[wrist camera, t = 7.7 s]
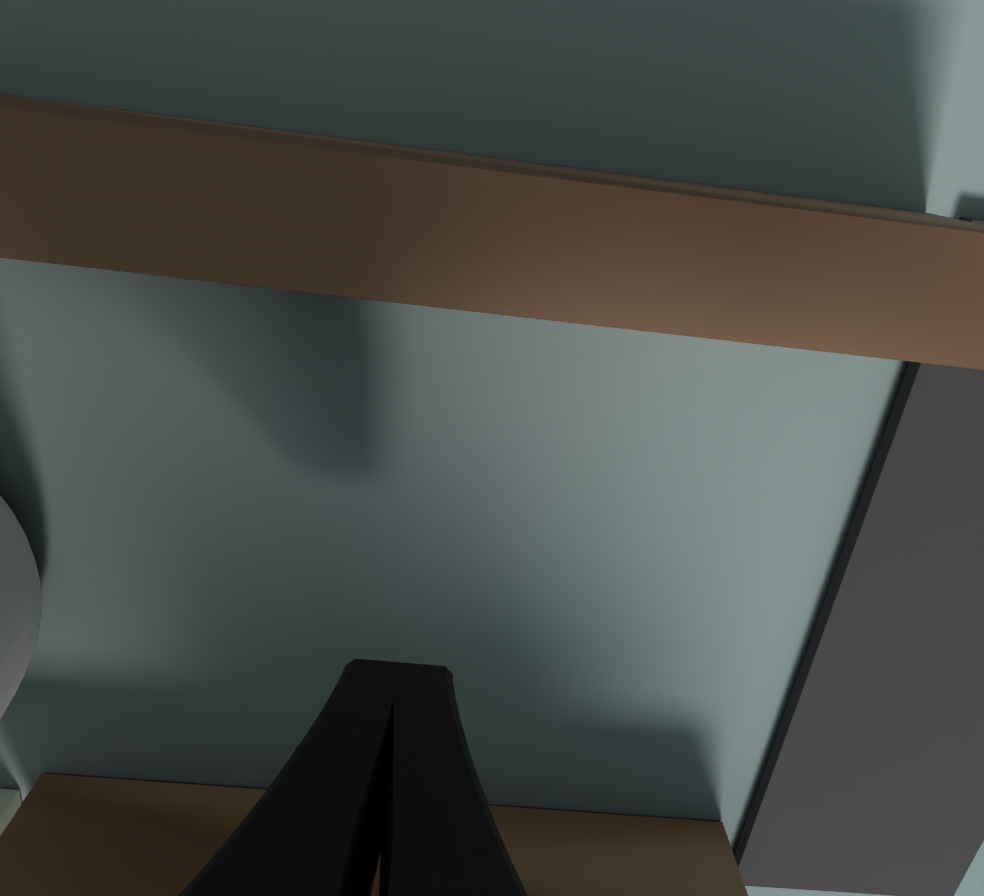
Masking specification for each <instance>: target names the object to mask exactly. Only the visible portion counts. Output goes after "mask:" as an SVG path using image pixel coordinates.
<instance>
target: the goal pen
mask: <svg viewBox="0 0 984 896" xmlns="http://www.w3.org/2000/svg"><path fill="white" fill-rule="evenodd" d="M21 804H22V803H21V798H20V792H19V790H13V789H0V836H1V834H2V833H3V831H4V830H5V828H6V827H7V825H8V824H9V822H10V821H11V819H12V818H13V816H14V815H15V813H16V812H17V810H18V809H19V807H20V806H21Z"/></svg>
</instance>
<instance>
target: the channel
mask: <svg viewBox="0 0 984 896" xmlns="http://www.w3.org/2000/svg"><path fill="white" fill-rule="evenodd" d="M0 257H1V258H10V259H19V260H28V261H36V262H45V263H54V264H63V265H71V266H80V267H89V268H98V269H106V270H115V271H124V272H133V273H141V274H150V275H159V276H168V277H176V278H185V279H194V280H203V281H211V282H220V283H229V284H237V285H246V286H255V287H264V288H272V289H281V290H290V291H299V292H307V293H316V294H325V295H334V296H342V297H351V298H360V299H369V300H377V301H386V302H395V303H404V304H412V305H421V306H430V307H439V308H447V309H456V310H465V311H474V312H482V313H491V314H500V315H509V316H517V317H526V318H535V319H544V320H552V321H561V322H570V323H579V324H587V325H596V326H605V327H614V328H622V329H631V330H640V331H649V332H657V333H666V334H675V335H684V336H692V337H701V338H710V339H719V340H727V341H736V342H745V343H754V344H762V345H771V346H780V347H789V348H797V349H806V350H815V351H824V352H832V353H841V354H850V355H859V356H867V357H876V358H885V359H894V360H902V361H911V362H920V363H929V364H937V365H946V366H955V367H964V368H972V369H981V370H984V225H982V224H977V223H972V222H967V221H963V220H958V219H953V218H948V217H944V216H939V215H934V214H930V213H923V212H915V211H907V210H899V209H892V208H884V207H876V206H868V205H860V204H853V203H845V202H837V201H829V200H821V199H813V198H806V197H798V196H790V195H782V194H774V193H767V192H759V191H751V190H743V189H735V188H728V187H720V186H712V185H704V184H696V183H688V182H681V181H673V180H665V179H657V178H649V177H642V176H634V175H626V174H618V173H610V172H603V171H595V170H587V169H579V168H571V167H563V166H556V165H548V164H540V163H532V162H524V161H517V160H509V159H501V158H493V157H485V156H477V155H470V154H462V153H454V152H446V151H438V150H431V149H423V148H415V147H407V146H399V145H392V144H384V143H376V142H368V141H360V140H352V139H345V138H337V137H329V136H321V135H313V134H306V133H298V132H290V131H282V130H274V129H267V128H259V127H251V126H243V125H235V124H227V123H220V122H212V121H204V120H196V119H188V118H181V117H173V116H165V115H157V114H149V113H142V112H134V111H126V110H118V109H110V108H102V107H95V106H87V105H79V104H71V103H63V102H56V101H48V100H40V99H32V98H24V97H17V96H9V95H1V94H0ZM265 792H266V789H252V788H238V787H224V786H210V785H196V784H182V783H168V782H154V781H140V780H126V779H112V778H98V777H84V776H70V775H55V774H41V775H40V777H39V778H38V780H37V781H36V783H35V784H34V786H33V787H32V789H31V790H30V792H29V793H28V795H27V796H26V798H25V800H24V801H23V803H22V804H21V806H20V807H19V809H18V810H17V812H16V813H15V815H14V816H13V818H12V819H11V821H10V822H9V824H8V825H7V827H6V828H5V830H4V831H3V833H2V834H1V836H0V896H178V895H179V894H180V893H181V892H182V891H183V890H184V889H185V887H186V886H187V885H188V884H189V883H190V882H191V881H192V880H193V879H194V878H195V876H196V875H197V874H198V873H199V872H200V871H201V870H202V869H203V867H204V866H205V865H206V864H207V863H208V862H209V861H210V859H211V858H212V857H213V856H214V855H215V854H216V852H217V851H218V850H219V849H220V848H221V847H222V845H223V844H224V843H225V842H226V841H227V840H228V838H229V837H230V836H231V835H232V833H233V832H234V831H235V830H236V828H237V827H238V826H239V825H240V823H241V822H242V821H243V820H244V818H245V817H246V816H247V814H248V813H249V812H250V811H251V809H252V808H253V807H254V806H255V804H256V803H257V802H258V801H259V799H260V798H261V797H262V795H263V794H264V793H265ZM488 806H489V808H490V811H491V813H492V816H493V818H494V821H495V823H496V826H497V828H498V831H499V833H500V835H501V838H502V840H503V842H504V845H505V847H506V849H507V851H508V854H509V856H510V858H511V861H512V863H513V865H514V867H515V869H516V872H517V874H518V876H519V878H520V880H521V882H522V884H523V886H524V889H525V891H526V893H527V895H528V896H748V894H747V891H746V889H745V886H744V883H743V880H742V877H741V874H740V871H739V868H738V866H737V863H736V860H735V857H734V854H733V851H732V848H731V846H730V843H729V840H728V837H727V834H726V831H725V828H724V826H723V823H722V822H715V821H701V820H687V819H673V818H659V817H645V816H631V815H617V814H603V813H589V812H575V811H561V810H547V809H533V808H519V807H505V806H491V805H488ZM379 876H380V857H379V862H378V866H377V871H376V876H375V880H374V885H373V889H372V894H371V896H379Z"/></svg>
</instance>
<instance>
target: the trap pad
mask: <svg viewBox="0 0 984 896" xmlns="http://www.w3.org/2000/svg"><path fill="white" fill-rule="evenodd" d="M960 220H963V221H967V222H972V223H977V224H982V225H984V220H978V219H970V218H962V217H960ZM983 840H984V370H981V369H972V368H964V367H955V366H946V365H937V364H929V363H920V362H911V361H909V363H908V366H907V369H906V372H905V375H904V378H903V380H902V383H901V386H900V389H899V392H898V394H897V397H896V400H895V403H894V406H893V409H892V411H891V414H890V417H889V420H888V423H887V425H886V428H885V431H884V434H883V437H882V440H881V442H880V445H879V448H878V451H877V454H876V456H875V459H874V462H873V465H872V468H871V471H870V473H869V476H868V479H867V482H866V485H865V487H864V490H863V493H862V496H861V499H860V502H859V504H858V507H857V510H856V513H855V516H854V518H853V521H852V524H851V527H850V530H849V532H848V535H847V538H846V541H845V544H844V547H843V549H842V552H841V555H840V558H839V561H838V563H837V566H836V569H835V572H834V575H833V578H832V580H831V583H830V586H829V589H828V592H827V594H826V597H825V600H824V603H823V606H822V609H821V611H820V614H819V617H818V620H817V623H816V625H815V628H814V631H813V634H812V637H811V640H810V642H809V645H808V648H807V651H806V654H805V656H804V659H803V662H802V665H801V668H800V671H799V673H798V676H797V679H796V682H795V685H794V687H793V690H792V693H791V696H790V699H789V701H788V704H787V707H786V710H785V713H784V716H783V718H782V721H781V724H780V727H779V730H778V732H777V735H776V738H775V741H774V744H773V747H772V749H771V752H770V755H769V758H768V761H767V763H766V766H765V769H764V772H763V775H762V778H761V780H760V783H759V786H758V789H757V792H756V794H755V797H754V800H753V803H752V806H751V809H750V811H749V814H748V817H747V820H746V823H745V825H744V828H743V831H742V834H741V837H740V840H739V842H738V845H737V848H736V851H735V854H734V857H735V860H736V863H737V866H738V868H739V871H740V874H741V877H742V880H743V883H744V886H759V887H774V888H789V889H804V890H820V891H835V892H850V893H865V894H881V895H896V896H954V894H955V892H956V890H957V888H958V887H959V885H960V883H961V881H962V879H963V877H964V875H965V874H966V872H967V870H968V868H969V866H970V864H971V862H972V861H973V859H974V857H975V855H976V853H977V851H978V849H979V848H980V846H981V844H982V842H983Z"/></svg>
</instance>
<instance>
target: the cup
mask: <svg viewBox="0 0 984 896" xmlns="http://www.w3.org/2000/svg"><path fill="white" fill-rule="evenodd" d="M40 620H41V586H40V578H39V574H38V570H37V566H36V562H35V558H34V555H33V553H32V550H31V547H30V545H29V542H28V539H27V537H26V534H25V532H24V531H23V529H22V527H21V526H20V524H19V522H18V520H17V519H16V517H15V515H14V513H13V512H12V510H11V509H10V507H9V506H8V504H7V503H6V502H5V501H4V499H3V498H2V497H1V496H0V719H1V718H2V716H3V714H4V713H5V711H6V709H7V707H8V706H9V704H10V702H11V700H12V699H13V697H14V695H15V693H16V691H17V689H18V687H19V685H20V683H21V681H22V679H23V677H24V675H25V673H26V670H27V668H28V666H29V663H30V660H31V657H32V655H33V652H34V648H35V645H36V641H37V637H38V632H39V626H40Z"/></svg>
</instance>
